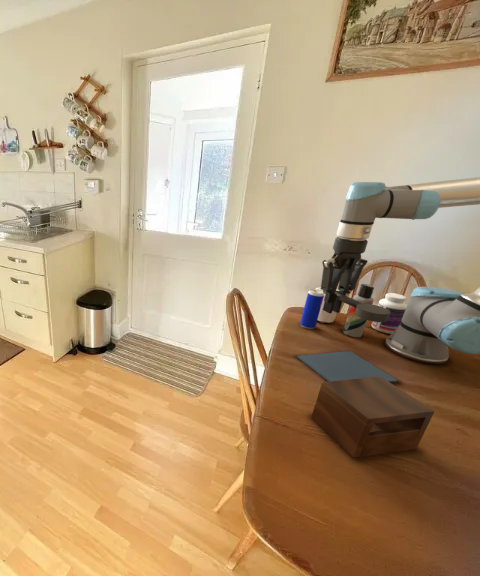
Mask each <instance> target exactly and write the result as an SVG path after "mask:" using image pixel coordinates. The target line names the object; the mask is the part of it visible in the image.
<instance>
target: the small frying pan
mask: <svg viewBox="0 0 480 576" xmlns="http://www.w3.org/2000/svg"><path fill="white" fill-rule="evenodd" d="M323 293H324V294H326V291H324V290H323ZM335 293H336V294H337V296H336V299H337V300H339V301H341V302H342V303H343V304H346V305H348V306H350V307H351V306H353V307H355V308H356V311H355V315H357V316H358V317H360V318H362V319H365V320H367V321H369V322H372V321H373V322H386V321H387V320H388V317H389V315H390V311H389V310H388V309H386V308H383V307H380V306H378V304H377V305H376V304H363V303H361V302H359V301H357V300H354V299H353V297H352V298H351V297H350V296H347V295H342V294H340V293H338V292H335Z"/></svg>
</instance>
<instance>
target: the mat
mask: <svg viewBox="0 0 480 576" xmlns="http://www.w3.org/2000/svg"><path fill="white" fill-rule="evenodd" d="M296 358H297V359H298V360H300V361H301V362H302V363H304V364H305V366H307V367H309V368H310V369H311V370H312V371H314V372H315V373H316V374H318V375H319V376H321V377H322V378H323V379H324V380H325V381H326V382H330V381H340V380H349V379H359V378H368V377H378V376H380V377H382V378H383V379H385V380H387V381H388V382H390V383H391V384H393V383H398V382H399V380H398V379H397V378H395V377H394V376H392V375H390V374H388V373H387V372H386V371H383V370H382V369H381V368H379V367H378V366H375V365H374V364H372V363H370V361H367V360H366V359H364V358H362V357H361V356H359V355H357V354H356V353H355V352H353V351H351V350H344V351H336V352H335V351H334V352H333V351H332V352H324V353H312V354H302V355H296Z"/></svg>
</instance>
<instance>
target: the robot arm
mask: <svg viewBox="0 0 480 576" xmlns="http://www.w3.org/2000/svg"><path fill="white" fill-rule="evenodd" d="M344 200H345V201H344V205H343V209H342V214H341V217H340V221H339V223H338V227H337V230H336V236H337V237H335V239H334V242H333V246H332V250H333V251H334V252H333V254H332V255H331V258H330V259H328V260H326V259H324V260H322V263H321V264H322V275H321V283H320V288H321V290H324V291H326V294H325V298H324V301H325V302H324V306H323V310H324V311H326V312H328V313H329V314H330V313H332V311H334V312H336V313H337V314H339V313H340V311H341V307H342V304H343V302H341V301H339V300H337V299H336V296H337V294H336V293H335V292H338V293H340V294H342V295H345V296H347V295H349V294H351V292H352V291H354V290H355V288H356V285H357V283H358V281H359V279H360V276H361V274H362V272H363V269H364V267H366V265H367V264H368V262H369V261H368V260H367V259H364V258H362V254H364V253H366V249H367V245H368V243H369V241H368V240H367V239H369V238H370V235H371V232H372V229H373V226H374V224H375V220H376V219H395V220H396V219H400V220H412V221H414V220H428V219H430V218H432V217H433V216H434V215H435V214H436V213H437V211H438V210H439V209H440V208H441V209H442V208H451V207H465V206H477V205H478V206H479V205H480V176H477V177H476V176H475V177H469V178H468V177H467V178H459V179H449V180H440V181H439V180H438V181H431V182H421V183H413V184H412V183H411V184H405V185H395V186H394V185H393V186H386V183H385V182H382V181H376V182H375V181H356V182H353V183H352V184H351V185H350V186H349V188H348V191H347V194H346V197H345V199H344ZM337 290H339V291H337ZM384 345H385V347H386V348H387V349H388V350H390V351H391V352H392V353H394V354H396V355H398V356H400V357H402V358H406V359H408V360H411V361H414V362H418V363H422V364H427V365H444V364H446V363H447V362H448V360H449V357H450V352H449V348H451V349H453V350H454V351H457V352H459V353H462V354H468V355H479V354H480V286H479V287H478V288H477V289H476V290H475V291H473V292H471V293H465V292H463V291H459V290H454V289H448V288H443V287H436V286H435V287H434V286H418V287H415V288H414V289H413V291H412V292H411V294H410V296H409V299H408V303H407V307H406V310H405V313H404V315H403V318H402V321H401V323H400V326H399V327H398V328H397V329H396V330H395V331H394V332H393V333H392V334H389V335H388V337H387V338H386V340H385V342H384Z"/></svg>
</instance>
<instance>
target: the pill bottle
mask: <svg viewBox="0 0 480 576" xmlns="http://www.w3.org/2000/svg"><path fill="white" fill-rule="evenodd" d="M406 299H407V297H406V296H405V295H402V294H400V293H394V292H387V293H386V294H385V295H384V298H381V299H380V300H379V301H378V304H377V306H380V307H383V308H386V309H388V310H389V311H390V315H389V317H388V320H387V321H386V322H373V321H371V323H370V324H371V327H372V329H374V330H375V331H377V332H381V333H383V334H387V335H388V334H389V335H391V334H392V333H393V332H394V331H395V330H396V329H397V328H398V327H399V326H400V323H401V321H402V318H403V315H404V313H405V310H406V307H407V305H408V303H406Z"/></svg>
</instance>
